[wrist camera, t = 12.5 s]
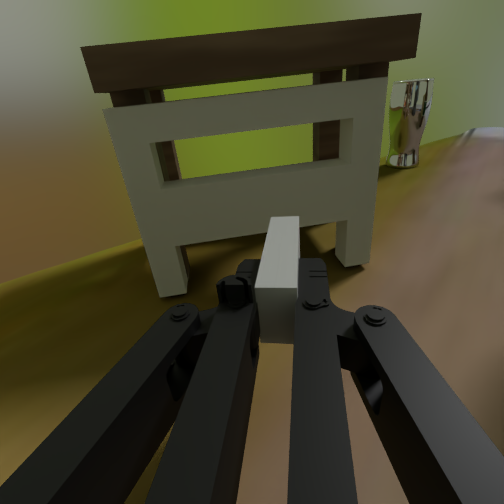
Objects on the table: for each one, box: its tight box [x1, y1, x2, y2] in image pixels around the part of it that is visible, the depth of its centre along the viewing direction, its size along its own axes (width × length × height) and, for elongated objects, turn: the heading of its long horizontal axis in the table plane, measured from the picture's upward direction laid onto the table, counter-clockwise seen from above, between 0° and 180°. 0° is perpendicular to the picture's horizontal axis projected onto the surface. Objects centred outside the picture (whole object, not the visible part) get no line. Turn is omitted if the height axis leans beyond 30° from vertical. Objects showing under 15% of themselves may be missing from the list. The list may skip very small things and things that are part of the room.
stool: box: [80, 13, 421, 280], centre depth 31 cm, size 16×22×20 cm
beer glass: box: [386, 78, 434, 168], centre depth 58 cm, size 7×7×15 cm
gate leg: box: [103, 77, 388, 298], centre depth 26 cm, size 2×20×16 cm, turn 99°
